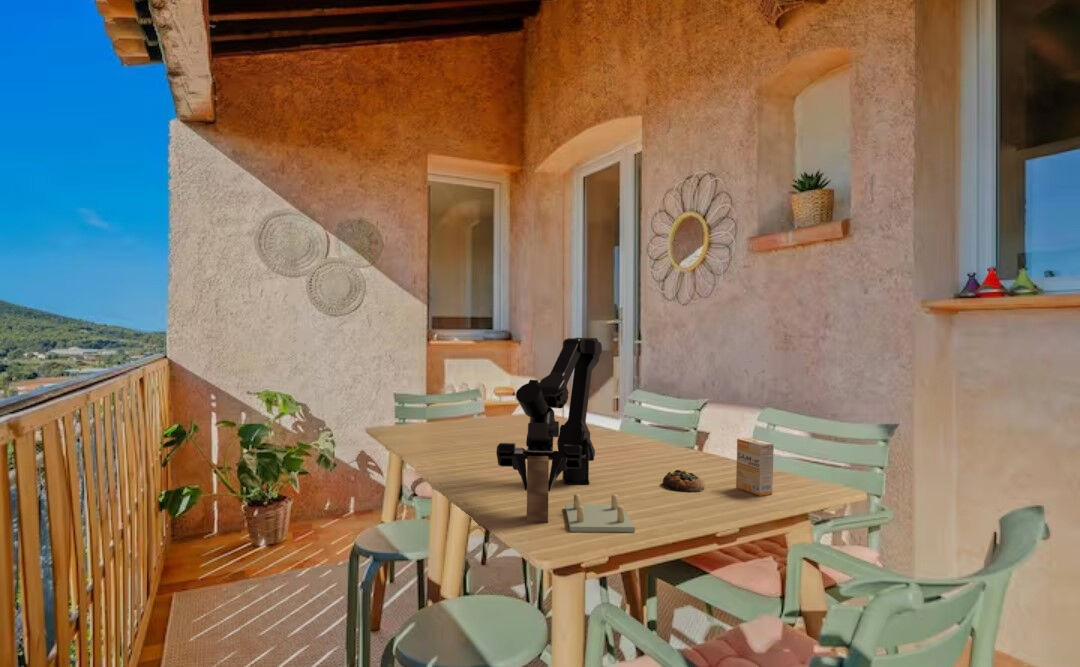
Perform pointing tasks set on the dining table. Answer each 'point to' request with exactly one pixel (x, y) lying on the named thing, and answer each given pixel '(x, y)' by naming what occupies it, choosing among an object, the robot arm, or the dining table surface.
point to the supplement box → (754, 466)
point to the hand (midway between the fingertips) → (537, 490)
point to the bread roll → (683, 481)
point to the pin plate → (598, 517)
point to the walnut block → (537, 489)
